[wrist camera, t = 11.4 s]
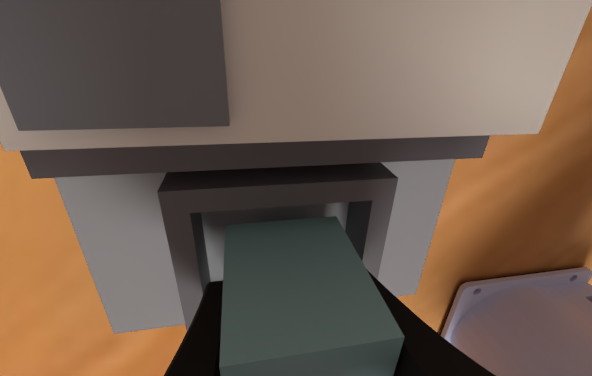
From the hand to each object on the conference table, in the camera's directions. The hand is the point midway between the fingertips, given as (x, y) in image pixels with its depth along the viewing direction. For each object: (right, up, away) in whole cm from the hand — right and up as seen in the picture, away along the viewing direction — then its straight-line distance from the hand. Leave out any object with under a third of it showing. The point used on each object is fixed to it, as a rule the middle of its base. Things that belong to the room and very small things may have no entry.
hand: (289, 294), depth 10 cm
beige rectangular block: (0, +9, -1) cm, 9 cm away
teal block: (0, +1, +1) cm, 2 cm away
